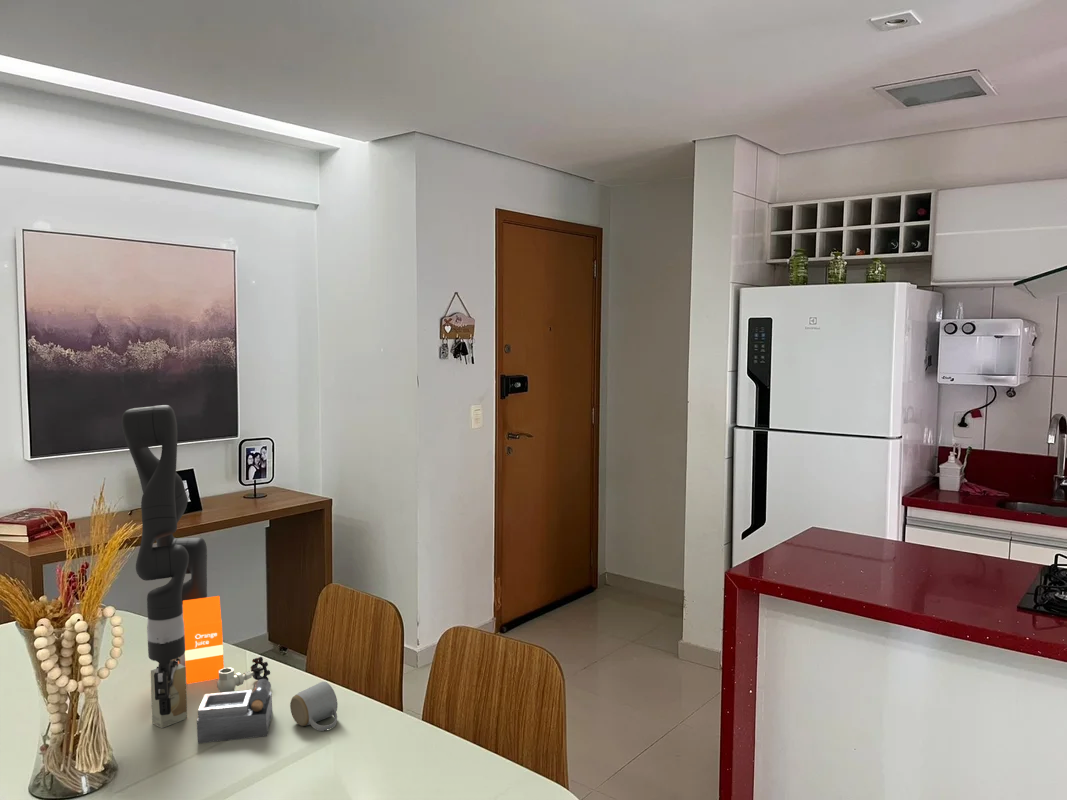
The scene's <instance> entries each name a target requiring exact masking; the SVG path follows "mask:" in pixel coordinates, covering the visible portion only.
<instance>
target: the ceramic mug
mask: <svg viewBox="0 0 1067 800" xmlns="http://www.w3.org/2000/svg"><path fill="white" fill-rule="evenodd" d="M289 707H290V714H291V716H292V717H293V720H294V722H295V723H296V724H297V725H299V726H301V727H305V726H311V727H312V728H314V729H315V730H317V731H319V732H325V731H324V730H327V729H330V728H332V727H333V728H335V726H337V722H338V713H337V712H338V699H337V695H336V693H335V691H334V689H333V687H332V686H331V684H330V683H328V682H326V681H321V682H318V683H316V684H314V685H312V686H309V687H307V688H305V689H304V690H300V692H298V693H297V694H294V696H292V698H291V700H290V704H289ZM330 717H333V718H334V720H333V722H332V723H330V724H327V725H321V724H318V723H317V722H319V721H322V720H323V721H324V720H325V719H327V718H330ZM333 728H332V729H333ZM330 730H331V729H330Z"/></svg>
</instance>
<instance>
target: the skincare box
mask: <svg viewBox="0 0 1067 800" xmlns="http://www.w3.org/2000/svg"><path fill="white" fill-rule="evenodd" d="M155 673H156V668H155V669H151V670H150V688H151V689H150V694H151V696H150V697H151V723H152V724H154V725H155V726H157V727H159V728H161V729H164V728H166V727H168V726H170V725H174V724H176V723H178V722H182V721H185V720H187V719H188V708H187V707H188V706H187V705H188V703H187V699H188V698H187V694H188V693H187V681H186V666H184V665H182V664H180V663H179V665H178V666H176V673H175V677H174V686H173V687H172V688H171V696H170V698H171V713H170V714H169V715H160V710H159V700H155V683H154V674H155ZM170 681H171V680H170ZM170 681H168V683H169V682H170ZM161 693H165V690H164V689H161Z"/></svg>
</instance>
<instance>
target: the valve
mask: <svg viewBox="0 0 1067 800" xmlns="http://www.w3.org/2000/svg"><path fill="white" fill-rule="evenodd" d="M263 660H264V658H263V656H258V657H256V658H253V659H252V665H251V666H250V671H249V670H248V671H245V672H243V673H241V672H239V671H238V672H236V673H235V669H234V668H233V667H224V668H223V669H221V670H219V679H217V682H216V683H217V685H216V687H217V689H218V691H219V692H218V693H222V692H233V691H236V690H235V689H236V687H240V686H241V685H243V684H244V682H245V681H247V680H249V679H251V678H253V679H254V680H256V681H258V680H260V679H266V680H268V681H269V677H268V676H269V675H271V670H269V669H267V668H268V666H269V663H268V661H263ZM259 665H260V666H259ZM261 674H263V675H261Z"/></svg>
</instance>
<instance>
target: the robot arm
mask: <svg viewBox="0 0 1067 800" xmlns="http://www.w3.org/2000/svg"><path fill="white" fill-rule="evenodd" d="M121 427H122V432H123V435H124V439H125V443H126V445H127V447H128V449H129V452H130V455H131V457H132V460H133V463H134V465H135V468H136V471H137V474H138V478H139V482H140V487H141V491H142V496H141V500H140V501H141V502H140V508H141V522H142V523H141V526H142V527H141V528H142V530H141V531H142V533H141V542H140V545H139V549H138V555H137V557H136V563H135V570H136V571H135V572H136V574H137V576H138V577H139V578H140V579H141V580H142V581H156V580H163V579H170V580H169V581H168V582H167V583H166V584H164V585H162V586H159V587H156V588H153V589H151V590H150V591H149V592H148V593H147V596H146V608H147V609H146V610H147V624H146V633H147V652H148V654H147V655H148V658H149V660H151V661H153V662H157V663H158V666H156V668H155V669H156V673H155V674H154V683H155V700H159V710H160V715H169V714H170V713H171V698H170V696H171V688H172V687H173V686H174V677H175V673H176V666H178V665H179V663H180V664H182V665H184V666H185V631H184V619H183V601H185V600H192V599H199V598H207V597H208V549H207V542H206V540H205V539H204V538H203V537H175V536H174V535H173V534H174V533H176V531H177V530H178V523H179V522H180V520H181V518H182V517H183V515H184V514H185V511H186V509H187V505H188V497H187V492H186V487H185V485H184V480H182V479H183V478H182V476H180V475H179V474H178V473H177V462H178V461H177V458H178V455H177V454H178V422H177V417H176V414H175V410H174V409H173V407H172V406H170V405H168V404H162V405H153V406H144V407H143V406H141V407H134V408H129V409H126V410H125V411H124V412H123V413H122V417H121ZM157 446H161V453H160V454H161V455H160V459H159V458H158V457H157V456H156V455H155V454H154V453H153V452H152V450H151V449H150V447H157ZM154 543H156V546H155V547H154V546H153V545H154ZM188 574H189V575H191V576H190V579H189V580H187V581H185V577H186V575H188ZM184 581H185V582H184ZM170 680H171V681H170ZM168 681H170V682H169V683H168ZM161 689H164V690H165V693H161Z"/></svg>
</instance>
